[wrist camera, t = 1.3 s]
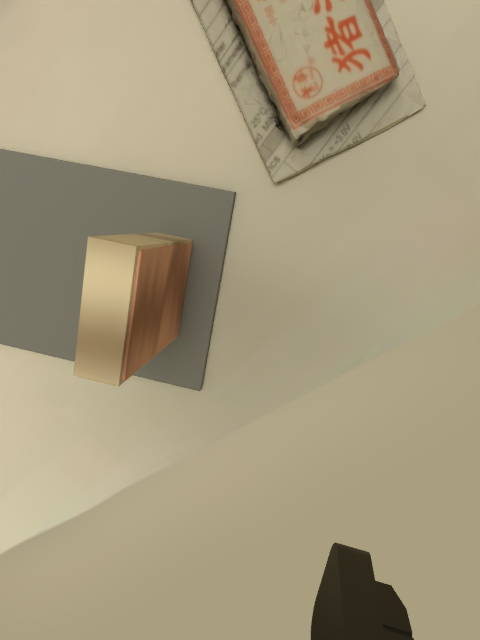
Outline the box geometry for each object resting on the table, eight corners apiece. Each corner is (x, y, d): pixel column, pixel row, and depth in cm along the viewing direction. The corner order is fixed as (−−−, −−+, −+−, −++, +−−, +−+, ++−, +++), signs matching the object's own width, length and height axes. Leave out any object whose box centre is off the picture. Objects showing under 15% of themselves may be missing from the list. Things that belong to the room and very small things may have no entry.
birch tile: (158, 232, 31) (88, 236, 21) (194, 239, 31) (139, 246, 21) (144, 330, 33) (73, 375, 23) (178, 338, 32) (121, 387, 23)
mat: (-13, 147, 32) (-18, 145, 32) (235, 192, 30) (234, 192, 30) (-23, 335, 36) (-28, 337, 35) (201, 388, 34) (200, 391, 33)
